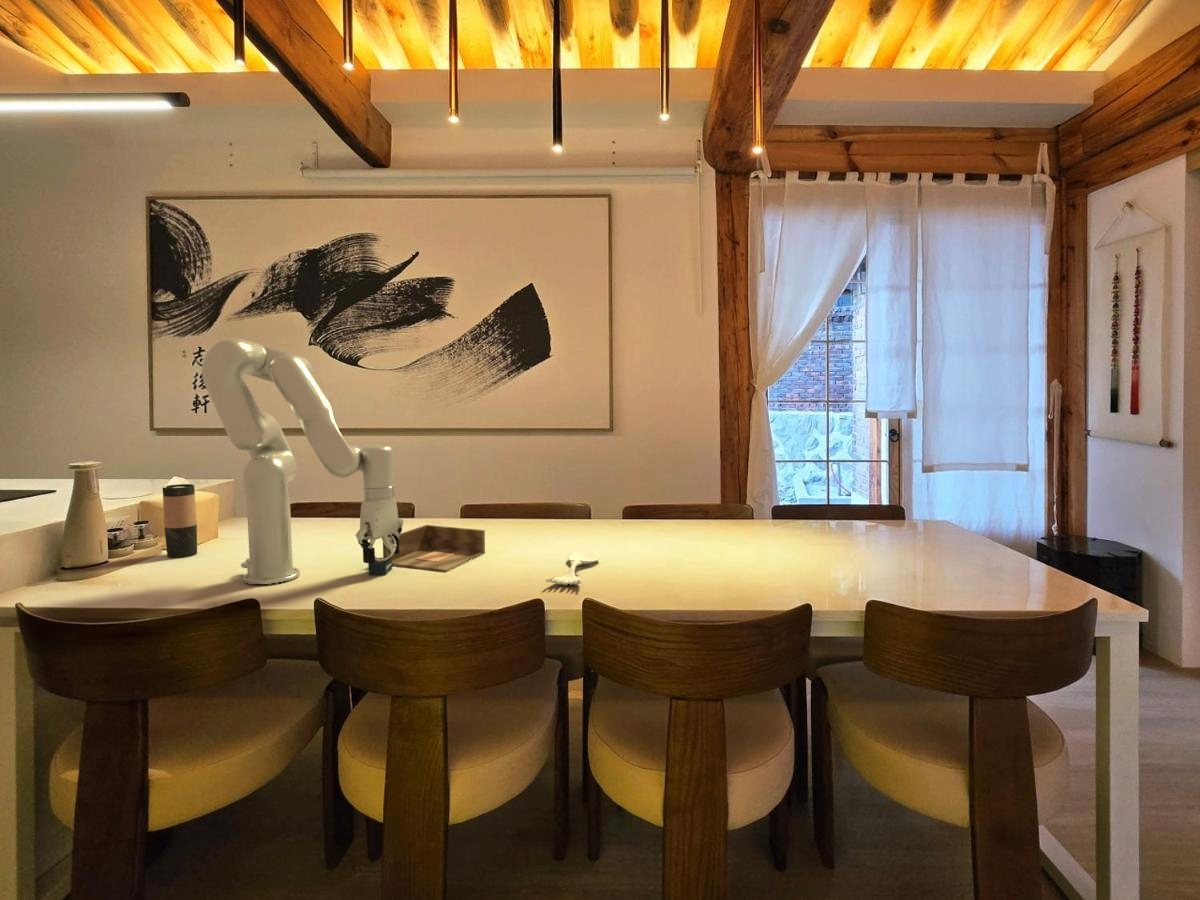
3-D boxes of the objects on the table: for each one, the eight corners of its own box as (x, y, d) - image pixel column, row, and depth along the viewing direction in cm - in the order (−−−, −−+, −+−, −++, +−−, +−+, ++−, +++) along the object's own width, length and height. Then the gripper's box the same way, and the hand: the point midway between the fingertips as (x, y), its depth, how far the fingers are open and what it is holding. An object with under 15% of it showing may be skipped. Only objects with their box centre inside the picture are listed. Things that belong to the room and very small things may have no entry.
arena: (383, 564, 169) (382, 539, 168) (426, 547, 188) (426, 524, 187) (446, 571, 163) (446, 545, 162) (484, 553, 181) (484, 530, 181)
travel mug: (203, 554, 179) (199, 485, 177) (173, 560, 172) (169, 488, 170) (190, 550, 183) (186, 483, 181) (161, 556, 176) (157, 486, 174)
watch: (393, 575, 159) (392, 533, 158) (361, 575, 159) (360, 533, 158) (399, 569, 165) (398, 528, 164) (369, 569, 165) (367, 528, 164)
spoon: (544, 591, 148) (544, 577, 148) (572, 557, 180) (572, 545, 179) (581, 593, 147) (581, 579, 146) (602, 558, 178) (602, 546, 178)
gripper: (388, 487, 170) (391, 548, 171) (343, 498, 153) (346, 565, 155) (412, 488, 167) (414, 551, 169) (368, 499, 151) (371, 568, 153)
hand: (381, 557), depth 162 cm, fingers open, 9 cm apart
